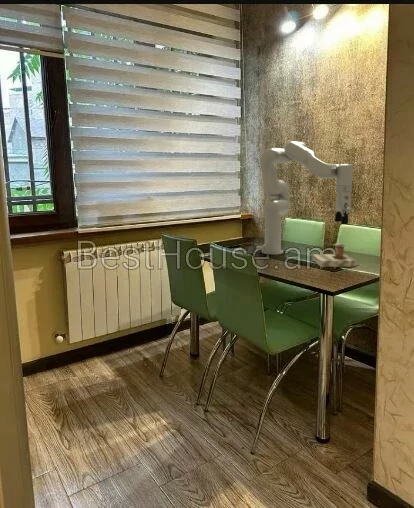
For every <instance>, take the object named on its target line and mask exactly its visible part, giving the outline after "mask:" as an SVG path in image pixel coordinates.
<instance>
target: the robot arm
mask: <svg viewBox="0 0 414 508" xmlns="http://www.w3.org/2000/svg"><path fill="white" fill-rule="evenodd" d="M315 154H316V153H315V151H314V150H312V149H310V148H308V147H307V145H306V144H305V143H304V142H303V141H296V140H293V141H291V140H290V141H289V142H287V143H286V144H285V146H284V147H283V148H279V147H271V148H267V149H265V150H264V151H263V153H262V154H261V155H260V162H259V164H260V170H261V175H262V177H261V178H262V184H263V191H264V194H265V196H267V197H274V198H271V199H268V200H267V201H266V202H265V203H264V205H263V214H264V244H262V245H257V246H256V250H259V251H261V253H262V254H265V255H275V256H276V255H283V254H284V250H283V249H282V218H281V215H285V214H287V213H288V212H289V210H290V208H291V204H290V195H289V194H290V193H289V187H288V185H287V183H286V182H285V181H284V180H283V179H279V178H278V171H277V168H276V167H275V164H287V163H289V162H292V161H295V162H297V163H299V164H300V165H302V166H304V167H305V168H306V170H307V171H308V172H310V173H312V174H313V175H315V176H316V177H318V178H319V179H320V178H321V179H323V180H329V179H330V180H333V179H336V180H335V181H336V183H335V192H336V197H335V216H334V222H339V223H340V224H341V225H348V224H349V216H350V215H349V214H350V212H351V210H352V196H351V195H352V187H353V186H352V184H353V177H354V176H353V173H354V172H353V171H354V166H353V164H351V163H341V164H337V163H326V162H324V161H322V160H320V159H318V158H317V157H316V155H315Z"/></svg>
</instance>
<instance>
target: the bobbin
mask: <svg viewBox="0 0 414 508" xmlns="http://www.w3.org/2000/svg"><path fill="white" fill-rule="evenodd" d="M334 246H335V253H334V254H335V259H343V255H344V252H345V247H346V244H345V243H339V242H338V243H334Z"/></svg>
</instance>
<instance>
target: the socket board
mask: <svg viewBox="0 0 414 508" xmlns="http://www.w3.org/2000/svg"><path fill="white" fill-rule="evenodd" d="M335 254H336V253H334V254H333V253H331V254H330V253H329V254H328V253H326V254H324V253H323V254H321V253H319V254H318V253H317V254H311V255H312V257H311V260H312V261H313V262H314V261H315V262H316V265H318V266H319V267H321V268H336V267H337V268H339V267H340V268H341V267H343V268H346V267H348V268H349V267H352V268H353V267H357V263H358V262H357V259H354V258H353V257H351V256H350V255H348V254H346V253H345V254H344V255H343V259H335ZM315 262H314V263H315Z"/></svg>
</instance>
